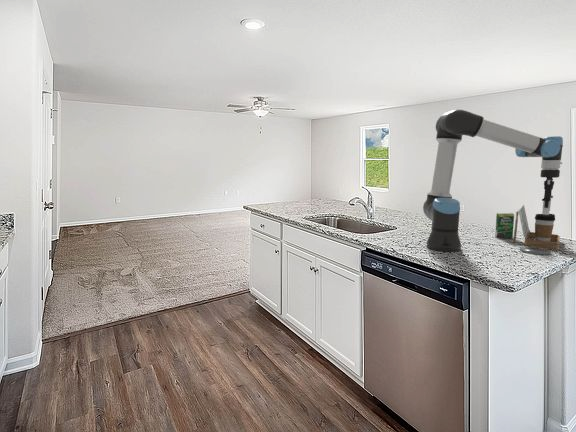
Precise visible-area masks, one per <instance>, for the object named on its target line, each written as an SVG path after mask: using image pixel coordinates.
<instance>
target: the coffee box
mask: <svg viewBox="0 0 576 432" xmlns="http://www.w3.org/2000/svg"><path fill="white" fill-rule="evenodd" d="M514 222H515V213H513V212H509V213H496V219H495V233H494V235H495V238H497V239H499V238H500V239H502V238H504V239H514V227H515V223H514Z"/></svg>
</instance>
